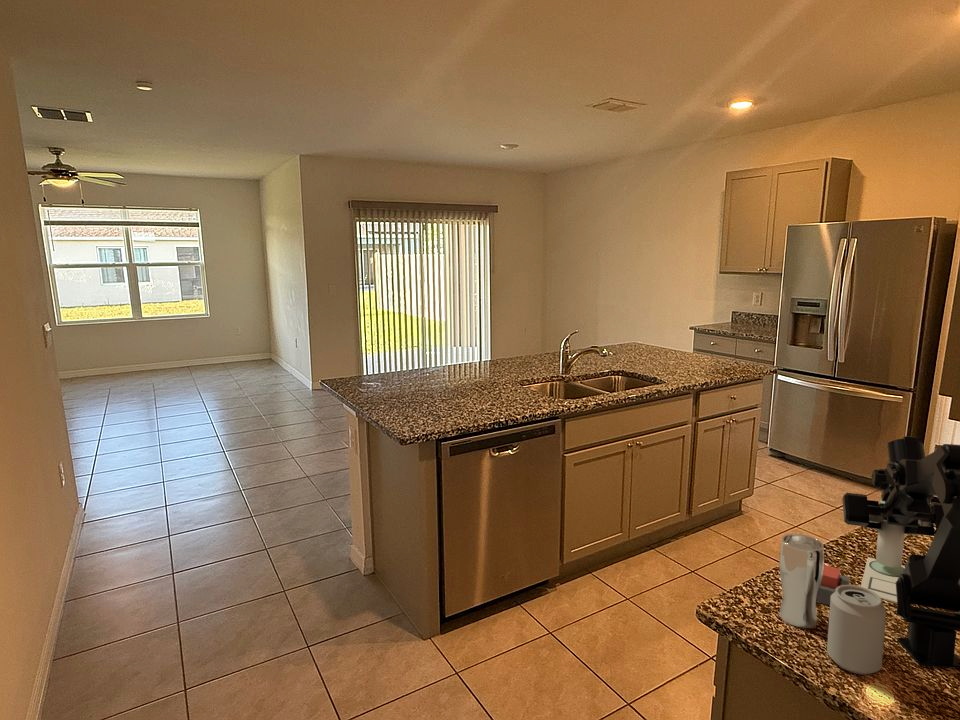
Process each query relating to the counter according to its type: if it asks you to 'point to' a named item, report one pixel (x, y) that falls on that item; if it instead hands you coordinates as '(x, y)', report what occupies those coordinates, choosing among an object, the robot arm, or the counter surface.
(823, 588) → the button housing
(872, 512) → the robot arm
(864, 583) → the colouring card
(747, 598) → the counter surface
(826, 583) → the button
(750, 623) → the counter surface
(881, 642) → the can
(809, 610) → the beer glass
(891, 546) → the ball
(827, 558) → the counter surface
